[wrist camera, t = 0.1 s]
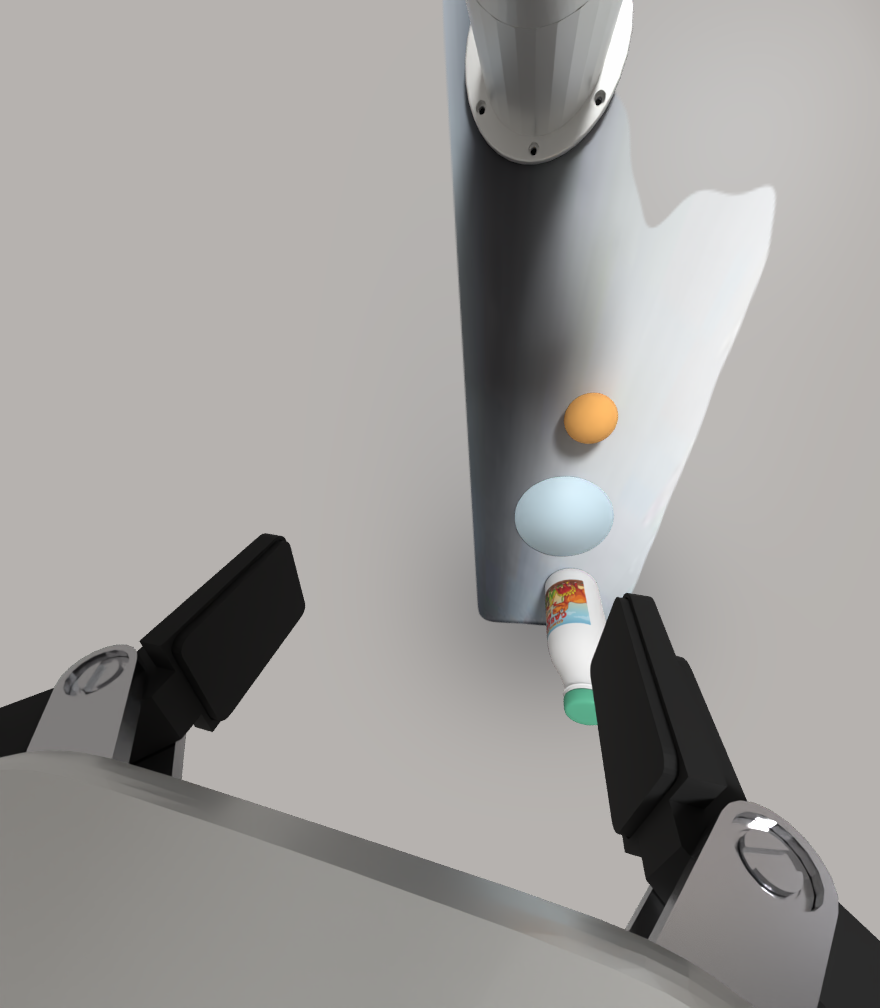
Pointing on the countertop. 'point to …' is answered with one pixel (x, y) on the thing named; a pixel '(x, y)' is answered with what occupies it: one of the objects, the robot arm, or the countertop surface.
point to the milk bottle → (574, 637)
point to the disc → (564, 516)
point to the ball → (591, 418)
